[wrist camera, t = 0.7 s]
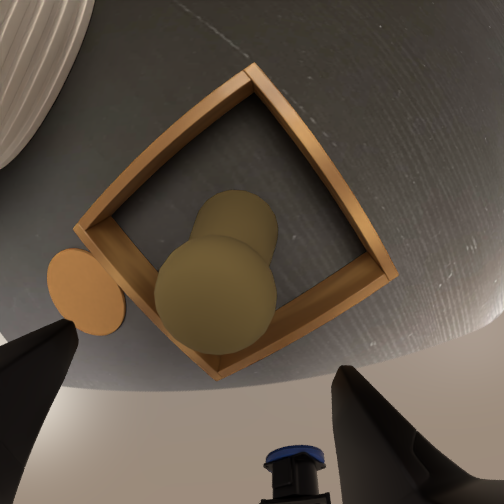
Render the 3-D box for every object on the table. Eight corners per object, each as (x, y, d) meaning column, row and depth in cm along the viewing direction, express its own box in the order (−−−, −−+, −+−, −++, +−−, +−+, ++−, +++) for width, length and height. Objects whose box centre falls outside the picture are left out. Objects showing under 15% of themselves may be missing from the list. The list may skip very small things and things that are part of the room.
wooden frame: (379, 253, 21) (399, 275, 17) (222, 350, 25) (216, 382, 21) (256, 77, 17) (254, 61, 13) (99, 214, 21) (72, 229, 17)
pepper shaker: (287, 200, 20) (310, 264, 10) (267, 277, 22) (267, 386, 12) (201, 181, 20) (136, 226, 10) (189, 260, 22) (134, 355, 12)
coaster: (144, 307, 24) (143, 309, 23) (94, 345, 26) (92, 348, 26) (77, 227, 21) (75, 229, 21) (37, 281, 24) (35, 282, 23)
